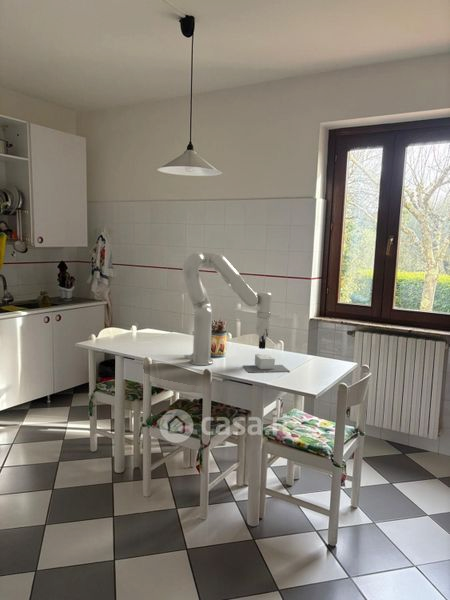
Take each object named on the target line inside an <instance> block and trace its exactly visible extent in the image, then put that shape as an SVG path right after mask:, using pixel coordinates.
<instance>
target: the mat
mask: <svg viewBox="0 0 450 600" xmlns="http://www.w3.org/2000/svg"><path fill="white" fill-rule="evenodd" d="M242 367H243V368H244V370H246V372H247V371H248V372H247V373H248V374H253V373H254V374H255V373H256V374H257V373H260V374H261V373H262V374H263V373H264V372H265V373H290V372H291V370H289V369H288V368H287V367H286V366H284V365H283V364H275V365H274V369H260V368H258V367H257V366H256V365H255V364H254V365H252V364H251V365H247V364H246V365H245V364H244V365H243V364H242Z"/></svg>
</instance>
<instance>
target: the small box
mask: <svg viewBox="0 0 450 600" xmlns="http://www.w3.org/2000/svg"><path fill="white" fill-rule="evenodd" d="M254 355H255V356H254V365H256V366H257V367H258V368H260V369H274V365H276V364H275V362H276V359H275V357H274V356H272V355H270V354H269V353H267V354H266V353H261V354H259V353H257V354H254Z"/></svg>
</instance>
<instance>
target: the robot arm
mask: <svg viewBox="0 0 450 600" xmlns="http://www.w3.org/2000/svg"><path fill="white" fill-rule="evenodd" d="M200 268H203V269H212V270H214V271H215V272H216V274H218V275H219V276H220V278H221V279H222V280H223V281H224V282H225V283H226V285H227V286H228V287H229V288H231V290H233V292H234V293H235V294H236V295H237V296H238V297H239V299H240V300H241V301H242V302H243V303H244V304H245V305H246V307H247V306H248V307H249V308H252V307H255V306H257V307H256V326H255V334H256V336H258V348H259V349H260V350H263V349H264V350H265V349H266V342H267V341H266V340H267V339H268V337H269V335H270V319H271V317H272V315H271V313H272V297H273V296H272V292H268V291H254V290H253V289H252V288H251V287H250V286H249V285H248V283H246V281H245V280H244V278H243V277H242V275H241V274H240V273H239V272H238V270H237V269H236V268H234V266H233V264H232V263H230V261H229V260H228V259H227V258H226V256H224V255H223V254H221V253H213V252H203V251H193V252H192V253H190V254H189V255H188V256H187V257H186V259H185V261H184V262H183V265H182V277H183V279H184V283H185V286H186V287H185V288H186V291H187V294H188V298H189V300H190V301H191V303H192V306H193V309H194V310H193V311H194V313H193V341H192V342H193V344H192V346H193V347H192V349H193V350H192V353H191V354H185V355H183V357H184V359H185V360H189V363H190V364H192V365H197V366H208V365H209V366H210V365H213V364H214V360H213V359H212V358H211V352H212V351H211V348H212V325H213V324H212V323H213V308H212V305H211V301H210V298H209V295H208V292H207V289H206V288H205V286H204V285H203V283H202V279H201V275H200V272H199V271H200Z"/></svg>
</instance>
